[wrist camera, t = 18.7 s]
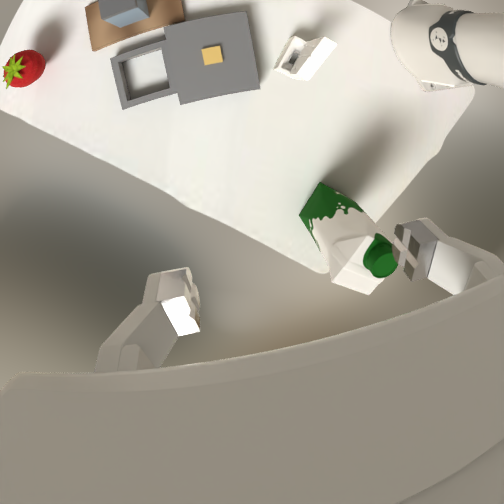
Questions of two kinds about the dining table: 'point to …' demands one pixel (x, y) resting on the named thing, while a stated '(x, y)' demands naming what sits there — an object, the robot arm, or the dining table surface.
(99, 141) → the dining table surface
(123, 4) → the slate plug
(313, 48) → the white slotted stand
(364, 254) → the milk carton
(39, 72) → the strawberry
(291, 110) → the dining table surface
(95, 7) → the walnut pad
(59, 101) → the dining table surface
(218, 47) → the grey socket base
